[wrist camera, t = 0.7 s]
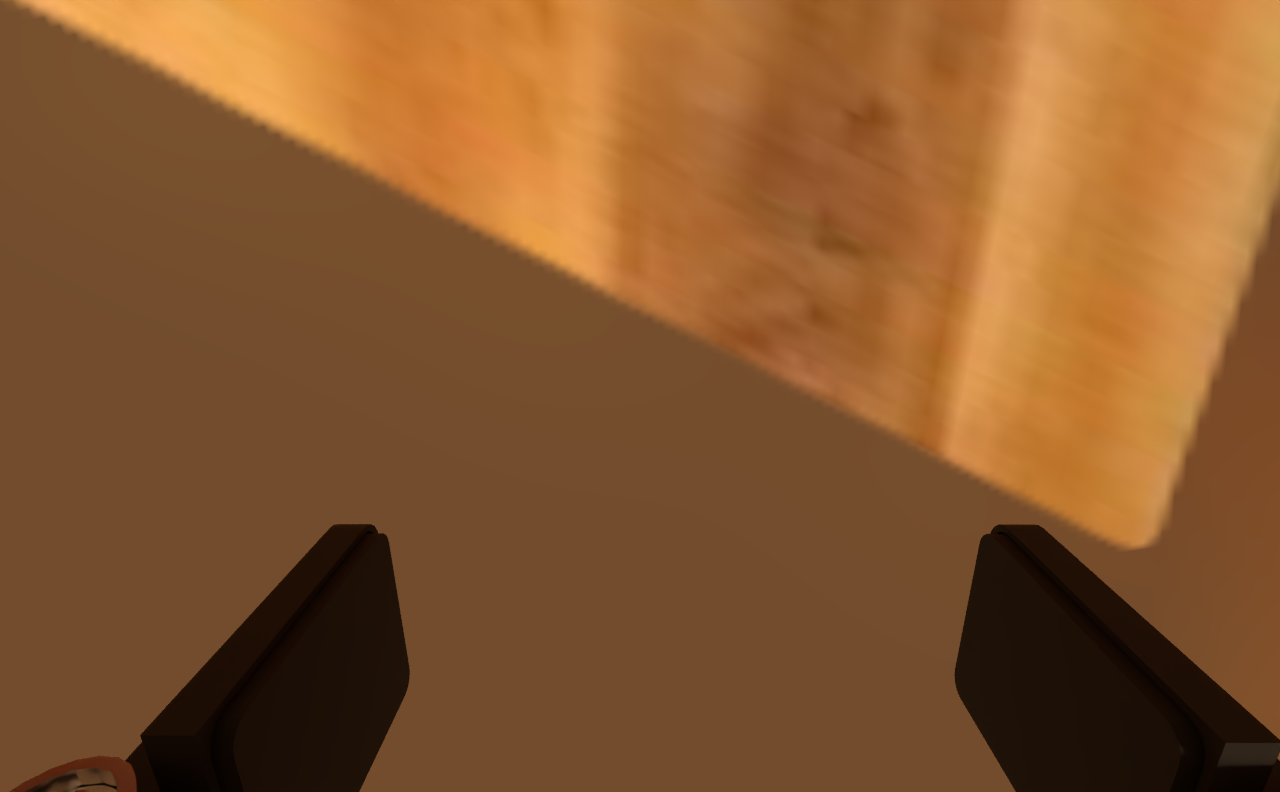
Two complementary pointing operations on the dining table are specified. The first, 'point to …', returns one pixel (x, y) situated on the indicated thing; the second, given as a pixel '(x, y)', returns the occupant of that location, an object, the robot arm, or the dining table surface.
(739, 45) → the dining table surface
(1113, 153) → the dining table surface
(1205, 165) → the dining table surface
